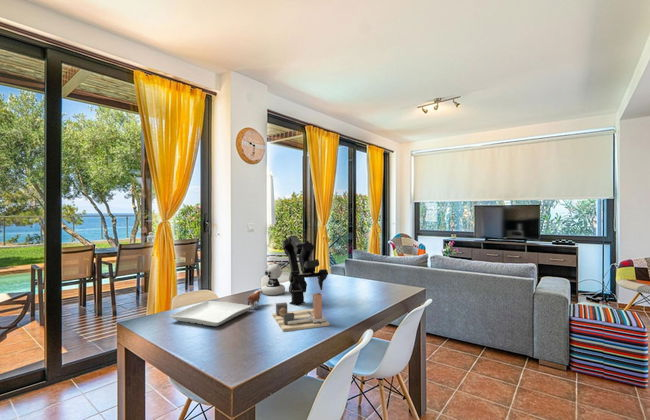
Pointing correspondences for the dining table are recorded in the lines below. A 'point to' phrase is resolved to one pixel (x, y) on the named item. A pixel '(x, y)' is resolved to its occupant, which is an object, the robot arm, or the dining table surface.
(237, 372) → the dining table surface
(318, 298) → the slider
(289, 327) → the press base
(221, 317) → the square plate
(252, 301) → the bull figurine
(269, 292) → the decorative figurine
